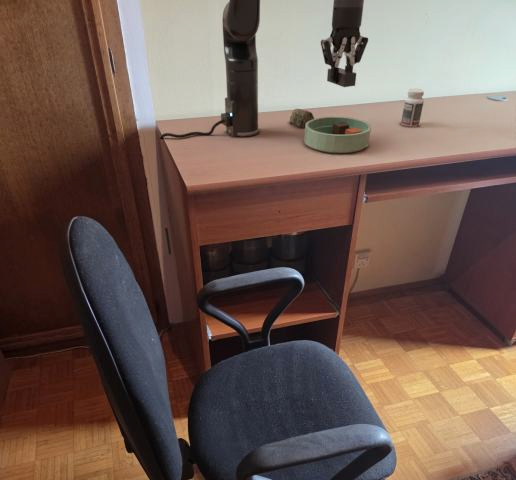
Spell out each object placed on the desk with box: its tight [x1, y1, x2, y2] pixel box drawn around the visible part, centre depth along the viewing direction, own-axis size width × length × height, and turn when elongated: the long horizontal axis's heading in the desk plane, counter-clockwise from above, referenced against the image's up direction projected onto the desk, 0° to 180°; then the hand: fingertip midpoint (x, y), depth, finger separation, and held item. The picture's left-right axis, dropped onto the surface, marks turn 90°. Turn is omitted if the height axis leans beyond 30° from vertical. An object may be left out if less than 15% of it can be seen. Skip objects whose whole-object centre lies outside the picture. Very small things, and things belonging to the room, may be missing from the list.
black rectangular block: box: [326, 67, 357, 88], centre depth 123 cm, size 9×4×3 cm, turn 24°
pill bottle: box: [400, 88, 425, 128], centre depth 142 cm, size 6×6×10 cm
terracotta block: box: [345, 128, 363, 135], centre depth 129 cm, size 4×4×4 cm
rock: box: [289, 108, 315, 129], centre depth 145 cm, size 7×8×4 cm
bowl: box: [303, 116, 372, 154], centre depth 130 cm, size 19×19×5 cm
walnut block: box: [332, 122, 349, 135], centre depth 133 cm, size 4×4×4 cm
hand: (340, 81), depth 124 cm, fingers closed on black rectangular block, 3 cm apart
